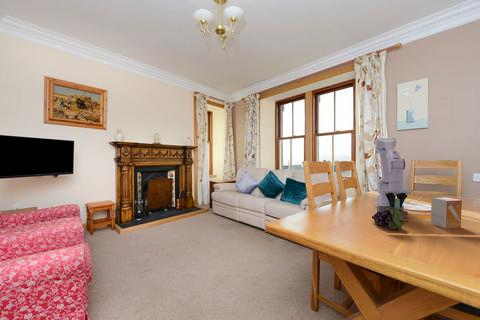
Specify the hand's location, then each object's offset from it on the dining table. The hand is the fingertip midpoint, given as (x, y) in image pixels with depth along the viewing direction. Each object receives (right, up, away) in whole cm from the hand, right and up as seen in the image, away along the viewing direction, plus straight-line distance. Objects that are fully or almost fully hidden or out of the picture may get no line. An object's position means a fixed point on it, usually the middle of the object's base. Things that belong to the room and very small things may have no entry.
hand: (395, 207), depth 106 cm
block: (0, -4, 0) cm, 4 cm away
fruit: (-16, -6, -17) cm, 24 cm away
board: (0, -5, -4) cm, 6 cm away
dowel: (0, -2, 0) cm, 2 cm away
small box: (+11, -6, -15) cm, 20 cm away
